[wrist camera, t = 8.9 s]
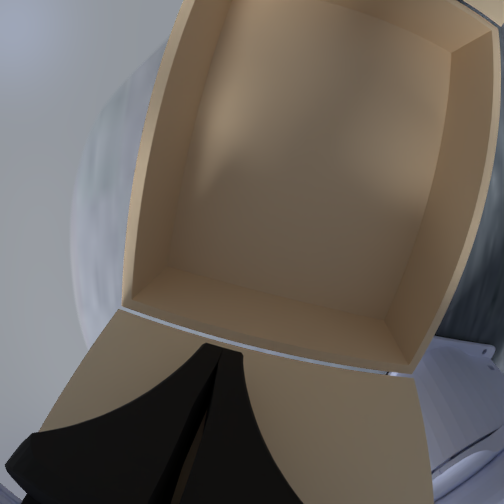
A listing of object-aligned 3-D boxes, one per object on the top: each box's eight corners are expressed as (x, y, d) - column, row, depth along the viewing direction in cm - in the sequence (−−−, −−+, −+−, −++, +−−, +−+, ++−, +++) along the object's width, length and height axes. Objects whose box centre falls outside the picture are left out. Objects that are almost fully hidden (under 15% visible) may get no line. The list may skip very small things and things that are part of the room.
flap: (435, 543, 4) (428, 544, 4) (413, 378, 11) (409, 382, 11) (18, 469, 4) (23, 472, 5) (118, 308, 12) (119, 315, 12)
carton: (454, 52, 11) (498, 28, 6) (384, 324, 16) (412, 374, 12) (231, -15, 11) (214, -63, 7) (162, 268, 17) (121, 305, 12)
